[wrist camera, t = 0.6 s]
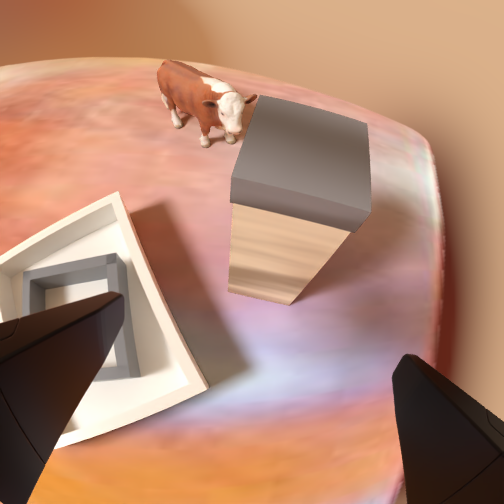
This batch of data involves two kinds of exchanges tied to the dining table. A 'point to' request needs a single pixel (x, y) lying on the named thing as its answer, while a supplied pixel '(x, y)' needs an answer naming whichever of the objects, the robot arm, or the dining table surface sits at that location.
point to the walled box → (135, 323)
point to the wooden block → (294, 196)
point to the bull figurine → (202, 99)
